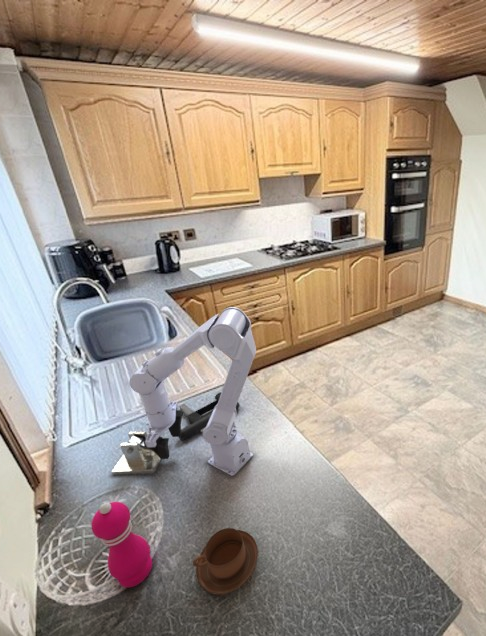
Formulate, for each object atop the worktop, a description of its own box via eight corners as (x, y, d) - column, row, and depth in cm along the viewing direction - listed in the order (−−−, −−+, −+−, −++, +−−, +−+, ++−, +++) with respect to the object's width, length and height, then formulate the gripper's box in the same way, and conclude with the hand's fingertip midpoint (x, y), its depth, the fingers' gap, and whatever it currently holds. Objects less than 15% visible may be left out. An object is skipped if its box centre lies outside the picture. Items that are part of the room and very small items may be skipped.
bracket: (168, 447, 100) (161, 425, 96) (153, 473, 92) (145, 450, 88) (130, 448, 100) (121, 426, 96) (112, 474, 92) (102, 451, 88)
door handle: (160, 413, 109) (181, 436, 98) (218, 384, 122) (242, 402, 111) (163, 421, 111) (184, 445, 100) (219, 392, 123) (244, 411, 112)
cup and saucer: (210, 614, 63) (203, 596, 60) (190, 559, 72) (183, 540, 69) (269, 570, 69) (265, 552, 66) (244, 524, 78) (240, 506, 75)
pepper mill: (145, 544, 75) (116, 480, 66) (161, 567, 71) (133, 501, 62) (109, 573, 70) (73, 508, 61) (125, 599, 66) (88, 533, 57)
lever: (168, 451, 96) (170, 443, 95) (163, 460, 93) (165, 452, 92) (131, 441, 95) (133, 433, 93) (125, 450, 92) (127, 442, 91)
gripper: (155, 389, 94) (167, 427, 100) (126, 428, 81) (143, 469, 87) (180, 388, 94) (191, 426, 100) (156, 427, 81) (170, 468, 87)
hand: (171, 446), depth 93 cm, fingers open, 7 cm apart
